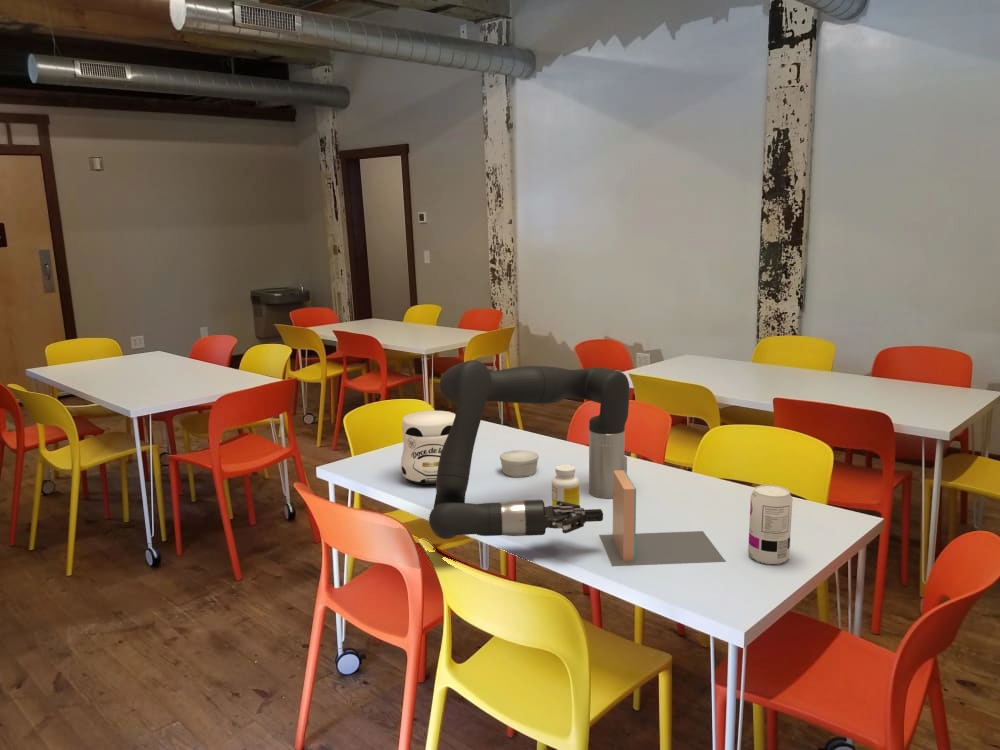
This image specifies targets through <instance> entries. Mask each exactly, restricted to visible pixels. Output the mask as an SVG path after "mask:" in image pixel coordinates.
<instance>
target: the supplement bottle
mask: <svg viewBox="0 0 1000 750" xmlns="http://www.w3.org/2000/svg"><path fill="white" fill-rule="evenodd" d="M575 473H576V467H575V466H573V465H572V464H560V465H557V466H555V475H556V476H553V478H552V479H551V506H553V505H556V502H557V501H562V502H567V503H571V504H575V505H580V479H579V478H578V476H575Z"/></svg>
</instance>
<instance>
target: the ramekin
mask: <svg viewBox="0 0 1000 750" xmlns="http://www.w3.org/2000/svg"><path fill="white" fill-rule="evenodd" d="M499 455H500V456H499V461H500V463H501V470H502V472H503V474H505V475H506V476H507V477H511V478H527V477H526V476H528V477H531V476H533V475H534V474H535V473H536V471H537V469H538V468H537V467H538V460H539V457H540V456H539V454H538V452H535V451H532V450H525V449H515V450H508V451H507V450H506V451H504V452H502V453H500V454H499ZM530 475H531V476H530Z"/></svg>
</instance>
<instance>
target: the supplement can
mask: <svg viewBox="0 0 1000 750" xmlns="http://www.w3.org/2000/svg"><path fill="white" fill-rule="evenodd" d="M749 505H750V506H749V525H748V526H749V529H748V545H747V546H748V547H747V552H748V555H749V556H750V557H751V558H752V560H754V559H755V560H756V561H755V560H754V561H755V562H758V563H760V562H761V563H760V564H764V563H765V565H771V564H776V565H781V563H782V564H784V563H785V562H787V561H788V560H789V558H790V547H791V529H792V515H793V514H792V513H793V497H792V495H791V492H790V490H789V489H787V488H785V487H783V486H780V485H775V484H762V485H757V486H755V487H754V489H753V491H752V493H751V494H750V504H749ZM783 562H784V563H783Z"/></svg>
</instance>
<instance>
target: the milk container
mask: <svg viewBox="0 0 1000 750" xmlns="http://www.w3.org/2000/svg"><path fill="white" fill-rule="evenodd" d="M455 415H456V413H454V412H451V411H445V410H423V411H416V412H412V413H408V414H406V415H404V416H403V418H402V423H401V424H402V427H401V428H402V440H403V442H402V443H403V450H402V455H401V459H400V468H401V471H402V476H403V477H404V478H405V479H406V480H408V481H409V482H412V483H415V484H419V485H436V478H437V472H438V465H439V460H440V455H441V451H442V448H443V446H444V443H445V441H446V439H447V436H448V434H449V432H450V430H451V427H452V425H453V422H454V419H455Z"/></svg>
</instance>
